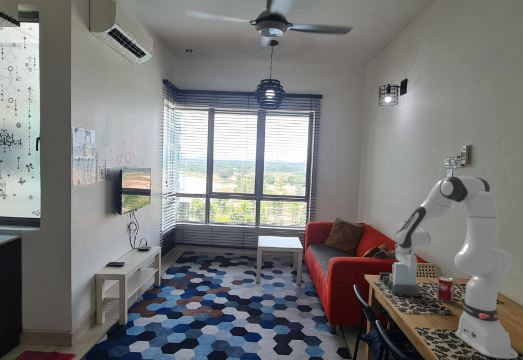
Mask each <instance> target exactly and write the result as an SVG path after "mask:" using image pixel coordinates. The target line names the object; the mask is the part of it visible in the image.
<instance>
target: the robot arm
mask: <svg viewBox="0 0 523 360" xmlns="http://www.w3.org/2000/svg"><path fill="white" fill-rule="evenodd" d="M490 189H491V188H490V184H489V183H488V181H487V180H485V179H484V178H482V177H475V176H474V177H472V176H465V175H464V176H463V175H461V176H449V177H446V178H444V179H440V180H438V181H437V183H435V184H434V186H433V187H432V189H431V191H430V192H429V194H428V196H427V197H426V199H425V200H424V201H423V202H422V203H421V204H420V205H419V206H418V207H417V208H415V210H414V211H413V212H412V214H410V217H409V218H408V219H407V220H403V221H402V220H401V222H400V224H399V228H398V231H397V232H396V234H395V242H396V243H395V245H394V247H395V259H396V260H397V261H398V263H403V264H404V265H405V266H407V267H408V271H407V274H408V275H411V272H412V270H413V269H417V270H418V258H417V256H416V254H415V253H416V248H425V247H428V246H429V244H430V243H431V235H430V233H429V231H427V230H425V229H422V228H421V227H420V226H421V225H422V224H423V223H424V222H426V221H428V220H432V219H435V218H440V217H442V216H444V215H446V213H447V212H448V211H449V210H450V208H451V207H452V205H453V203H454V202H457V203H461V202H462V203H464V204H465V207H466V235H465V239H464V241H463V242H464V243H463V245H462V247H461V248H460V250H459V251H458V252H457V253H456V254H455V256H454V259H453V261H454V262H453V263H454V265H455V266H454V267H456V269H457V271H458V272H460V273H461V274H464V275H468V276H472V277H471V278H470V279H469V280H468V281H467V283H466V285H465V294H464V300H463V303H462V310H463V311H462V314H461V315H460V317H459V321H458V322H459V323H458V329H457V330H456V331H455V333H454V335H455V336H456V337H457V338H459V339H460V340H462V341H463V342H465V343H466V344H467V345H469V346H470V347H472V348H473V349H474V350H476V351H477V352H479V353H480V354H481V355H482V356H487V357H489V358H496V359H506V360H509V359H517V358H518V357H519V354H518V352H517V351H516V350H515V349H514V348H513V347H512V346H511V338H510V332H508V331H506V330H505V328H504V326H503V325H502V323H501V322H500V318H501V315H500V314H499V312H498V309H497V300H498V293H499V290H500V289H499V288H500V286H501V284H502V281H503V279H504V278H505V275H506V274H508V271H509V270H511V269H512V267H513V265H514V261H513V257H512V255H511V254H510V253H509V252H508V251H506V250H505V249H501V248H496V247H492V245H493V243H494V242H495V240H496V239H497V238H498V237H499V211H498V205H497V200H496V197H495V196H494V194H493V193H491V192H490Z"/></svg>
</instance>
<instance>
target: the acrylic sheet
mask: <svg viewBox="0 0 523 360" xmlns="http://www.w3.org/2000/svg"><path fill="white" fill-rule="evenodd" d="M417 270H418V268H417V269H413V270H412V272H411V275H408V274H407V271H408V267H407V266H405V265H404V264H403V263H399V262H393V273H394V274H393V285H412V286H417V274H418V273H417V272H418V271H417Z"/></svg>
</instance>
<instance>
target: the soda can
mask: <svg viewBox="0 0 523 360" xmlns="http://www.w3.org/2000/svg"><path fill="white" fill-rule="evenodd" d="M454 283H455V282H454V279H453V278H451V277H449V276H439V277H438V280H437V293H436V297H437V299H438V300H439V301H440V302H443V303H452V302H453V299H454V298H453V297H454V295H453V294H454V293H453V292H454Z"/></svg>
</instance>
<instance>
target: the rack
mask: <svg viewBox="0 0 523 360" xmlns="http://www.w3.org/2000/svg"><path fill="white" fill-rule="evenodd" d="M389 274H394V272H379V277H378V280H379V281H380V282H381V284H382V285H383V286H384V287H385V288H386V289H387V290H388V291H389V292H390V294H391V295H407V294H409V296H411V295H412V296H414V295H415V296H420V295H421V286H420V285H416V286H412V285H393V281H389Z"/></svg>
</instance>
